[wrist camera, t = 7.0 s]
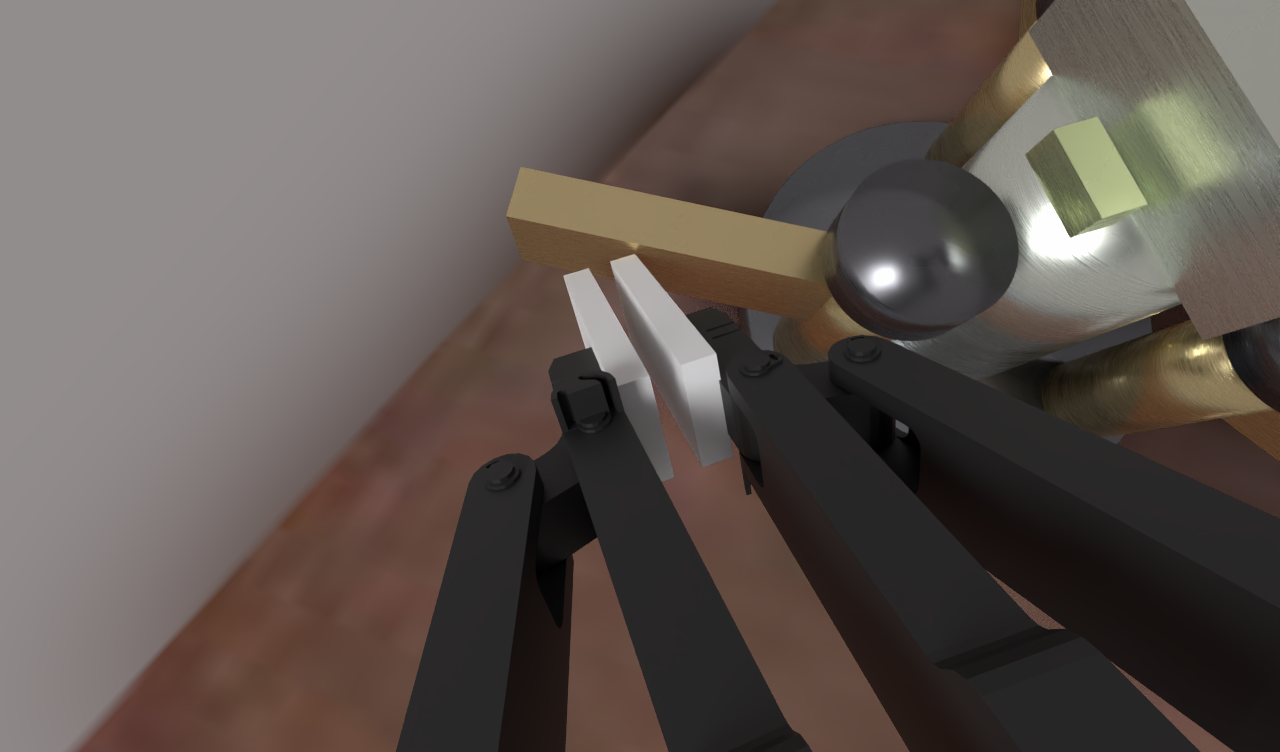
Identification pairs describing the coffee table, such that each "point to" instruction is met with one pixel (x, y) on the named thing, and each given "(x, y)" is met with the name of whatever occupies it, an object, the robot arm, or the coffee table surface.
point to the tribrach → (1110, 213)
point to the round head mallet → (794, 252)
